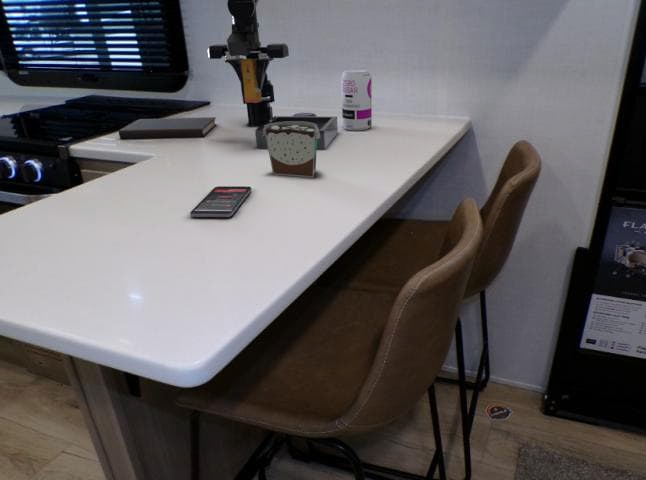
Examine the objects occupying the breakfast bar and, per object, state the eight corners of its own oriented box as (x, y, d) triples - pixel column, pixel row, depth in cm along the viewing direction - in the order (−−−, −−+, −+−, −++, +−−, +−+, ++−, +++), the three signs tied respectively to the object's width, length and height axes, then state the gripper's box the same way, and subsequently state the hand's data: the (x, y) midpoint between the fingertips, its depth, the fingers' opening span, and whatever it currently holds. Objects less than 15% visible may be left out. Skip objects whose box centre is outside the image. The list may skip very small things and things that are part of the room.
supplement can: (372, 124, 152) (372, 68, 145) (370, 131, 145) (370, 72, 137) (344, 124, 153) (343, 69, 145) (341, 131, 146) (339, 72, 138)
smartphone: (252, 186, 101) (230, 214, 88) (252, 190, 102) (231, 218, 89) (215, 186, 102) (188, 213, 89) (216, 189, 102) (189, 217, 89)
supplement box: (263, 101, 133) (259, 58, 128) (255, 103, 131) (251, 59, 126) (252, 100, 135) (247, 57, 130) (244, 102, 132) (239, 59, 127)
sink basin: (257, 148, 131) (254, 129, 129) (276, 132, 146) (274, 116, 144) (324, 149, 128) (324, 130, 126) (337, 133, 143) (337, 116, 141)
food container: (330, 170, 113) (328, 122, 108) (320, 178, 108) (317, 128, 103) (279, 166, 117) (275, 119, 112) (266, 173, 112) (261, 125, 107)
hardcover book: (140, 127, 157) (138, 119, 156) (216, 125, 157) (215, 117, 156) (120, 139, 143) (117, 130, 142) (203, 137, 143) (202, 128, 142)
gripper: (193, 21, 118) (205, 94, 126) (274, 19, 115) (280, 94, 123) (211, 18, 127) (221, 87, 135) (286, 17, 125) (291, 87, 133)
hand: (252, 89), depth 131 cm, fingers closed on supplement box, 4 cm apart
